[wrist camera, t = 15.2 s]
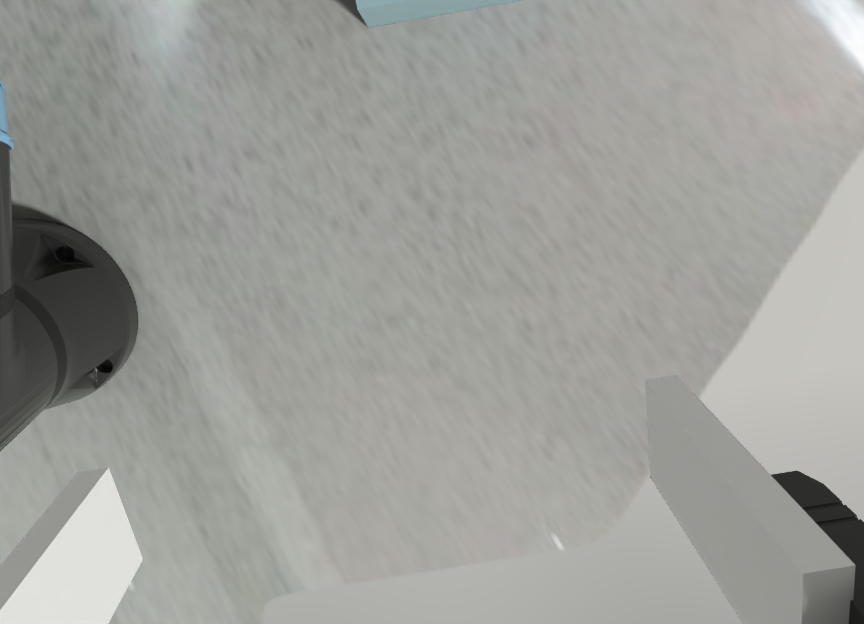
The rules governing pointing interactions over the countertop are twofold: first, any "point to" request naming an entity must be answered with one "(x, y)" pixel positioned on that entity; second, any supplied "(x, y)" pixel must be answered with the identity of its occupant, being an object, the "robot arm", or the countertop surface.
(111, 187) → the countertop surface
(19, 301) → the robot arm
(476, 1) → the pale blue storage box
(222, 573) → the countertop surface
